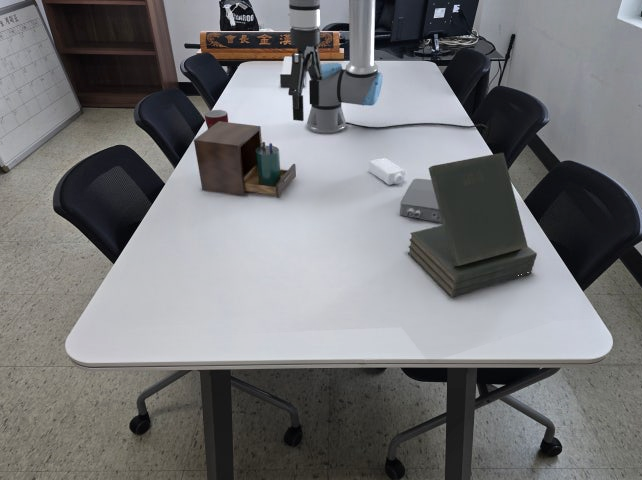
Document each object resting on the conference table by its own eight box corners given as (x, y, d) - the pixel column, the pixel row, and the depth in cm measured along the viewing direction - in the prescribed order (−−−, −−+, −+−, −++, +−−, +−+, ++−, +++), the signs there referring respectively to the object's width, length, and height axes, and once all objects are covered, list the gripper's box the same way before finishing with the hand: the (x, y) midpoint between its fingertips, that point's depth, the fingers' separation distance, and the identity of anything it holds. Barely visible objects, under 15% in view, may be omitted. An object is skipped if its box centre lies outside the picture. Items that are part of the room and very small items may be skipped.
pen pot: (281, 177, 156) (278, 137, 149) (280, 187, 151) (278, 146, 143) (259, 177, 156) (255, 137, 148) (257, 187, 150) (253, 147, 142)
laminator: (304, 88, 236) (303, 74, 233) (278, 87, 236) (277, 74, 232) (306, 68, 263) (305, 56, 260) (282, 68, 263) (282, 56, 259)
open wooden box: (264, 174, 162) (260, 126, 152) (244, 196, 149) (238, 145, 140) (225, 168, 164) (219, 121, 155) (202, 189, 152) (193, 139, 142)
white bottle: (390, 188, 155) (391, 175, 152) (368, 172, 164) (369, 160, 161) (407, 183, 157) (408, 171, 155) (384, 168, 166) (385, 156, 164)
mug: (223, 148, 178) (220, 120, 172) (202, 146, 179) (198, 119, 173) (233, 137, 186) (230, 110, 180) (213, 135, 187) (209, 109, 181)
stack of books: (450, 298, 112) (469, 200, 97) (407, 253, 126) (418, 161, 111) (531, 275, 119) (560, 180, 104) (481, 234, 134) (501, 146, 118)
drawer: (297, 176, 158) (296, 164, 156) (280, 198, 147) (279, 185, 144) (256, 170, 161) (255, 158, 159) (236, 191, 149) (235, 178, 147)
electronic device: (474, 233, 134) (478, 217, 131) (397, 218, 140) (398, 202, 137) (483, 201, 148) (486, 186, 145) (413, 189, 154) (414, 174, 151)
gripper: (307, 17, 134) (308, 97, 147) (272, 36, 115) (277, 125, 128) (333, 19, 133) (332, 99, 145) (302, 38, 113) (304, 129, 126)
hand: (306, 112), depth 137 cm, fingers open, 13 cm apart
